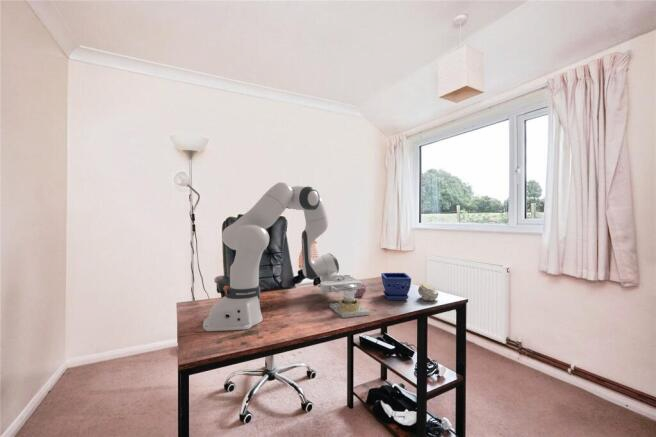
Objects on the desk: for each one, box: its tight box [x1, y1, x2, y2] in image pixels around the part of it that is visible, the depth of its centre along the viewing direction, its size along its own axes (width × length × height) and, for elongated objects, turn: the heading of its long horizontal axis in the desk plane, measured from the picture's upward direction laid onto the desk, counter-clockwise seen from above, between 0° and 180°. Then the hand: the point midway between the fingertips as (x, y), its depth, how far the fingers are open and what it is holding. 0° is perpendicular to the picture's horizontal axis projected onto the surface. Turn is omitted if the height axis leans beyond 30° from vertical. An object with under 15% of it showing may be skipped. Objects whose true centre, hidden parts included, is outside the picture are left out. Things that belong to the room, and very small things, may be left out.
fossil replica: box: [417, 282, 439, 302], centre depth 145 cm, size 12×8×10 cm
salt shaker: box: [343, 284, 356, 304], centre depth 128 cm, size 5×5×10 cm
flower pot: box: [381, 272, 412, 301], centre depth 148 cm, size 13×13×12 cm
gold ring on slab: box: [329, 298, 371, 319], centre depth 128 cm, size 13×15×4 cm
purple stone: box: [355, 283, 367, 298], centre depth 153 cm, size 10×5×7 cm, turn 170°
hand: (346, 289), depth 130 cm, fingers open, 8 cm apart
